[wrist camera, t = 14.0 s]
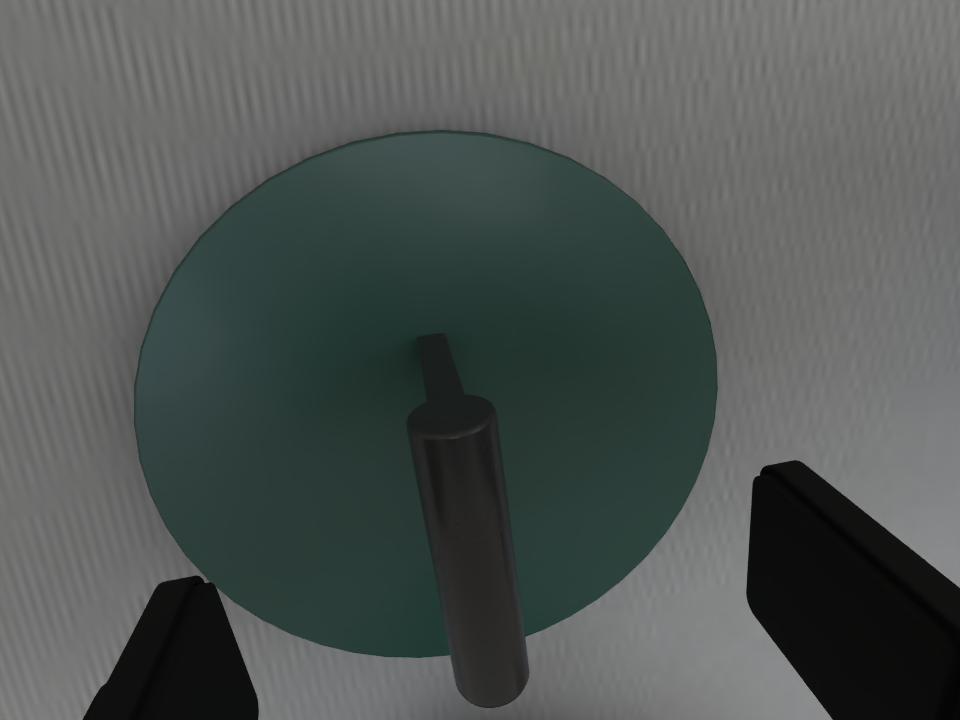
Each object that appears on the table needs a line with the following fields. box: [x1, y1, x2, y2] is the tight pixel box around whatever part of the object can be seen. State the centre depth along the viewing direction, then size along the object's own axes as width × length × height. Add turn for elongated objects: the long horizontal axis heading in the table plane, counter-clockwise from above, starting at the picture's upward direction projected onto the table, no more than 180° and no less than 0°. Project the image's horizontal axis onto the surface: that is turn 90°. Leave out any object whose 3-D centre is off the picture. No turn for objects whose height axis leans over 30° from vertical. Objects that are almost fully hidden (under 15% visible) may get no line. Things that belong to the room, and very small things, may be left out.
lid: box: [134, 130, 718, 708], centre depth 13 cm, size 15×15×6 cm
